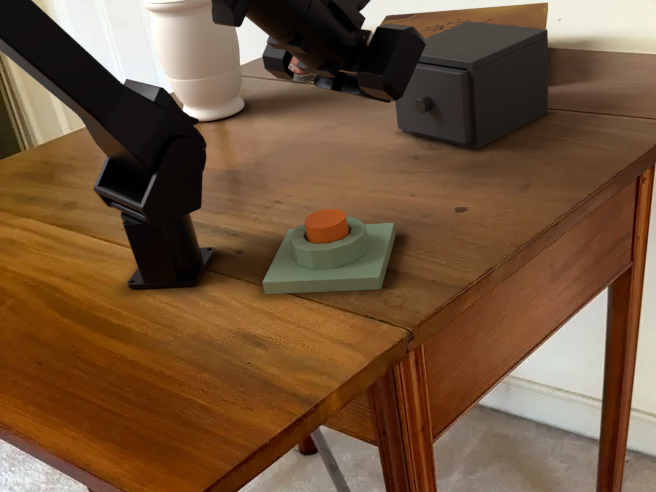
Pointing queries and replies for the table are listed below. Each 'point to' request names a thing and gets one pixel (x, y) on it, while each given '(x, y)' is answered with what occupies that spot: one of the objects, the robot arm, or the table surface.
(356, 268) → the panel
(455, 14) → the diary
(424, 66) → the dark grey drawer
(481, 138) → the grey drawer box
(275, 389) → the table surface
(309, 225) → the button
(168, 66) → the jar
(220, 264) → the table surface
